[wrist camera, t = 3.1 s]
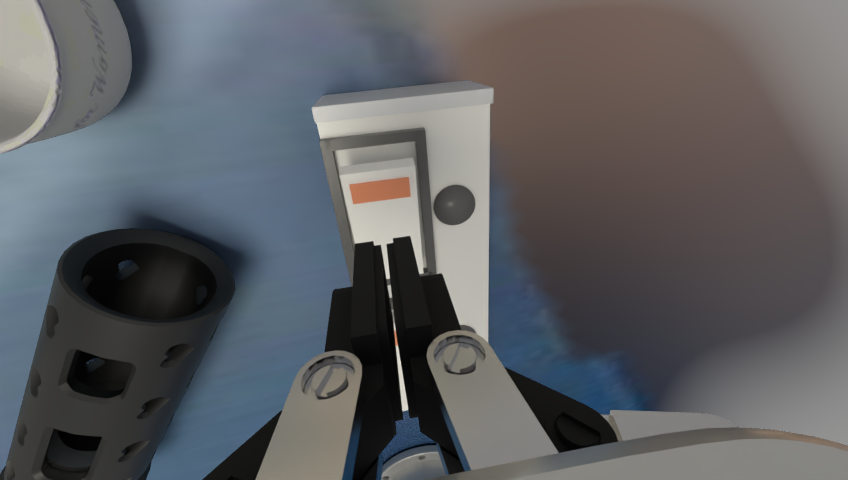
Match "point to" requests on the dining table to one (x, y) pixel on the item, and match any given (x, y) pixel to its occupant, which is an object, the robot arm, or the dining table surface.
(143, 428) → the muzzle brake
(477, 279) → the white switch block
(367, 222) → the outlet rocker
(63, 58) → the teacup
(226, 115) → the dining table surface
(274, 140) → the dining table surface
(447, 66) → the dining table surface
